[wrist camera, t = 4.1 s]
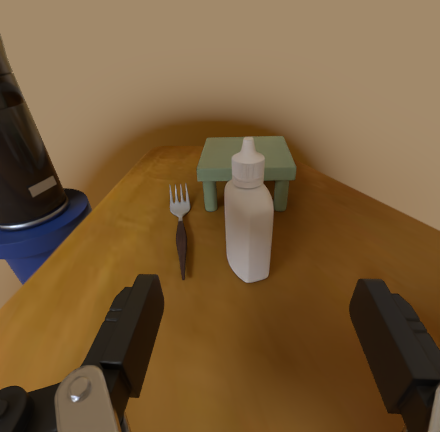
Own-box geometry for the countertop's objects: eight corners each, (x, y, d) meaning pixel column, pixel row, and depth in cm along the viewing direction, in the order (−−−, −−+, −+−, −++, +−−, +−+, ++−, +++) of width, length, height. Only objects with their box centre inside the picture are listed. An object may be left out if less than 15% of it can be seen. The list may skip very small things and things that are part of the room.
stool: (200, 213, 33) (196, 168, 29) (209, 175, 42) (206, 137, 38) (290, 213, 32) (296, 167, 28) (279, 174, 41) (283, 135, 38)
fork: (169, 286, 23) (165, 269, 22) (170, 197, 36) (168, 184, 35) (198, 281, 24) (196, 265, 22) (189, 195, 37) (187, 182, 36)
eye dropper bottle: (271, 245, 27) (280, 127, 20) (267, 288, 23) (279, 154, 16) (229, 241, 28) (225, 126, 21) (218, 281, 23) (208, 151, 17)
